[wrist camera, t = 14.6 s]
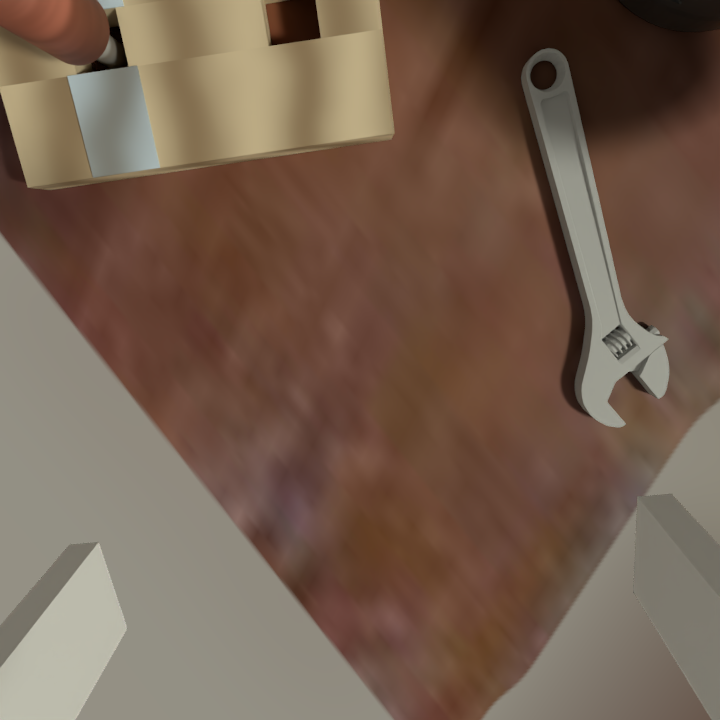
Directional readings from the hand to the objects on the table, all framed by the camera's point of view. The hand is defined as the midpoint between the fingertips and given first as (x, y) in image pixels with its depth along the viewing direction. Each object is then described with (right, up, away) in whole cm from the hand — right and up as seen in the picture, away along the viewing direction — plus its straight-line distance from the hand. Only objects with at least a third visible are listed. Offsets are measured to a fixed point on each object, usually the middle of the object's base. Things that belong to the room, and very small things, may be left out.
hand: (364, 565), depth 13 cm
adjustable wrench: (+16, +13, +23) cm, 31 cm away
